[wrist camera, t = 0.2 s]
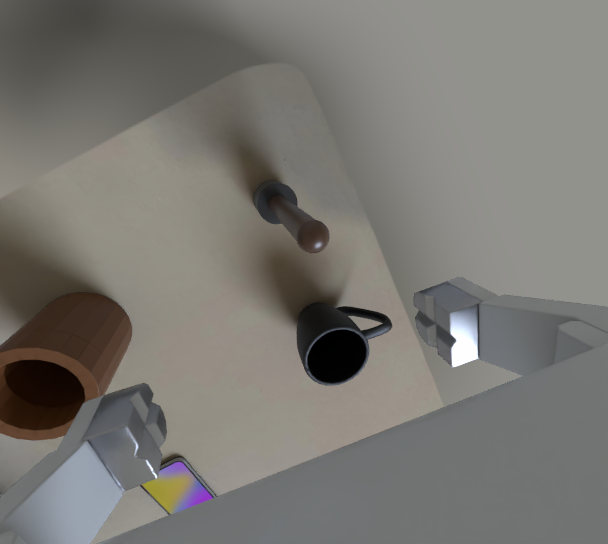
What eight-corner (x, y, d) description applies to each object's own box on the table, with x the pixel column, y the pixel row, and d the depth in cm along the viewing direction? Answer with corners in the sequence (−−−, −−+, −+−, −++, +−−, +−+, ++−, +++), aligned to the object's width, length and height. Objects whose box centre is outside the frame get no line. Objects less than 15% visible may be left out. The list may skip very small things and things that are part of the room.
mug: (372, 319, 49) (404, 355, 40) (300, 352, 48) (317, 396, 39) (357, 273, 46) (389, 301, 37) (279, 308, 45) (293, 345, 36)
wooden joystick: (249, 184, 38) (275, 215, 19) (284, 176, 39) (344, 197, 20) (258, 220, 40) (291, 281, 21) (292, 211, 41) (354, 263, 21)
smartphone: (181, 458, 49) (227, 512, 55) (181, 454, 49) (227, 508, 55) (135, 481, 48) (187, 533, 54) (136, 477, 49) (187, 529, 55)
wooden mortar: (22, 306, 37) (-62, 370, 26) (112, 282, 39) (67, 333, 28) (64, 374, 41) (6, 454, 30) (144, 350, 42) (117, 418, 31)
